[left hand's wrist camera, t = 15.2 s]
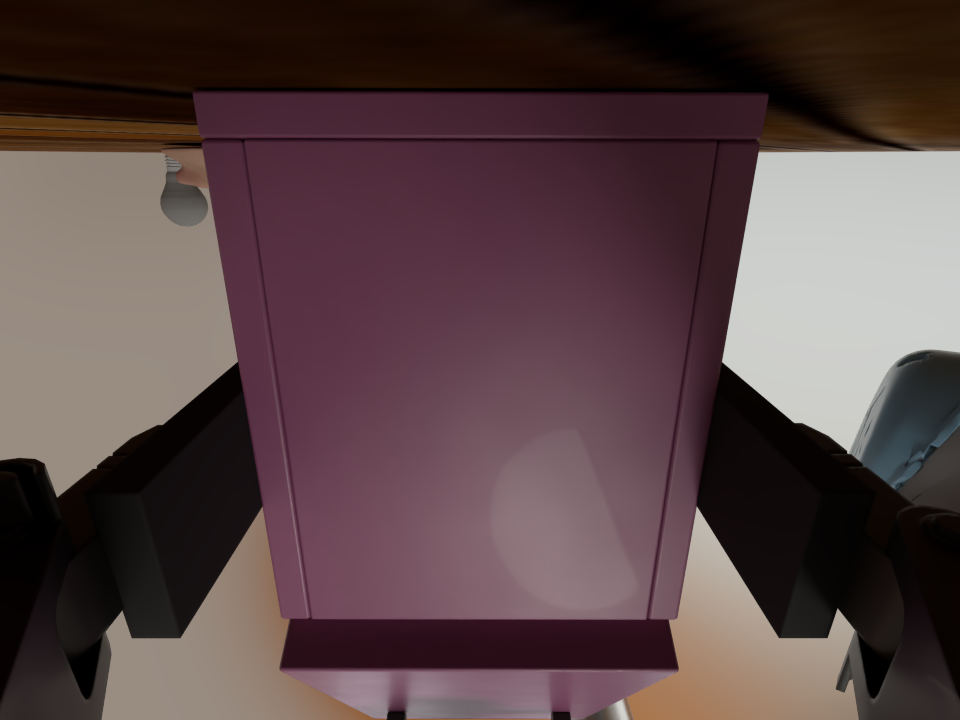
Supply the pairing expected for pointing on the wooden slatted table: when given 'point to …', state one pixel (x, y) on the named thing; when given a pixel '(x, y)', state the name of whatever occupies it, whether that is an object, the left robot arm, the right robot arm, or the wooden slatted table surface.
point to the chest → (479, 338)
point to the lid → (478, 665)
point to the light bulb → (182, 198)
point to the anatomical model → (189, 165)
